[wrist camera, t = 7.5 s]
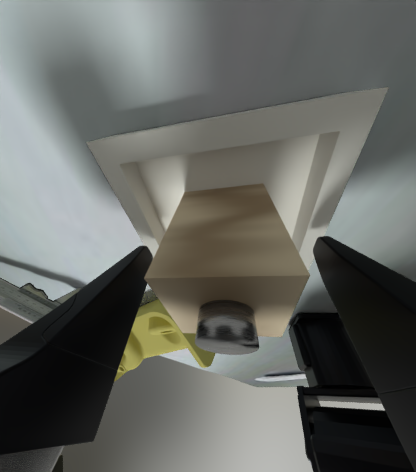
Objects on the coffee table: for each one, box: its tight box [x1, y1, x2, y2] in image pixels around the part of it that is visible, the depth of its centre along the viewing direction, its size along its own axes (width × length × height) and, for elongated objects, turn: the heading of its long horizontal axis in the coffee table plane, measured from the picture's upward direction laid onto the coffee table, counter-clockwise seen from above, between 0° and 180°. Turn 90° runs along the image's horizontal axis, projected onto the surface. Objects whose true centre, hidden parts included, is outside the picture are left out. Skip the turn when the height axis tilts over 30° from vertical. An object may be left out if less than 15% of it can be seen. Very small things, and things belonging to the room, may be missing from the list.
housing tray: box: [86, 87, 389, 271], centre depth 10 cm, size 11×11×2 cm
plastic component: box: [114, 299, 215, 381], centre depth 23 cm, size 20×7×10 cm
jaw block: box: [144, 183, 310, 355], centre depth 7 cm, size 4×4×7 cm
